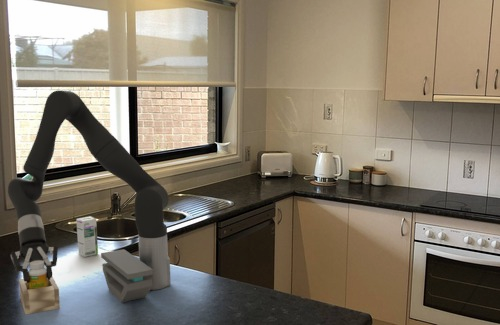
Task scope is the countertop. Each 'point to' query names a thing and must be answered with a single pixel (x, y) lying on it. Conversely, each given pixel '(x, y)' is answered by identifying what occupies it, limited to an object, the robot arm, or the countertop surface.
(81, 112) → the robot arm
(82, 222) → the syrup box
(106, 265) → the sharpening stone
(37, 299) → the post socket
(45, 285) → the supplement bottle
